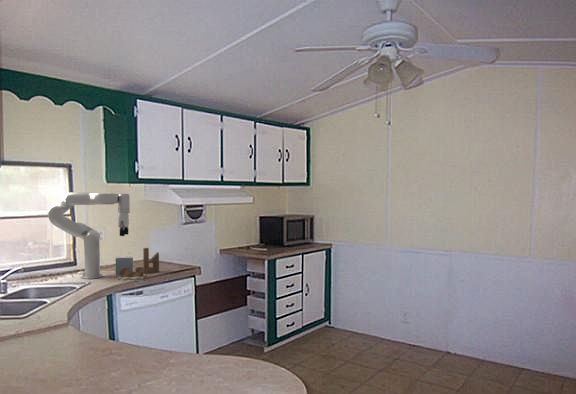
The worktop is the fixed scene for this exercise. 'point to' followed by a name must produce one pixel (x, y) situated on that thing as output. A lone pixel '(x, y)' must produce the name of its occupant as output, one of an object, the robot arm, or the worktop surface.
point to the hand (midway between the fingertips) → (124, 235)
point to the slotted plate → (124, 264)
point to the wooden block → (153, 260)
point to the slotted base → (131, 273)
